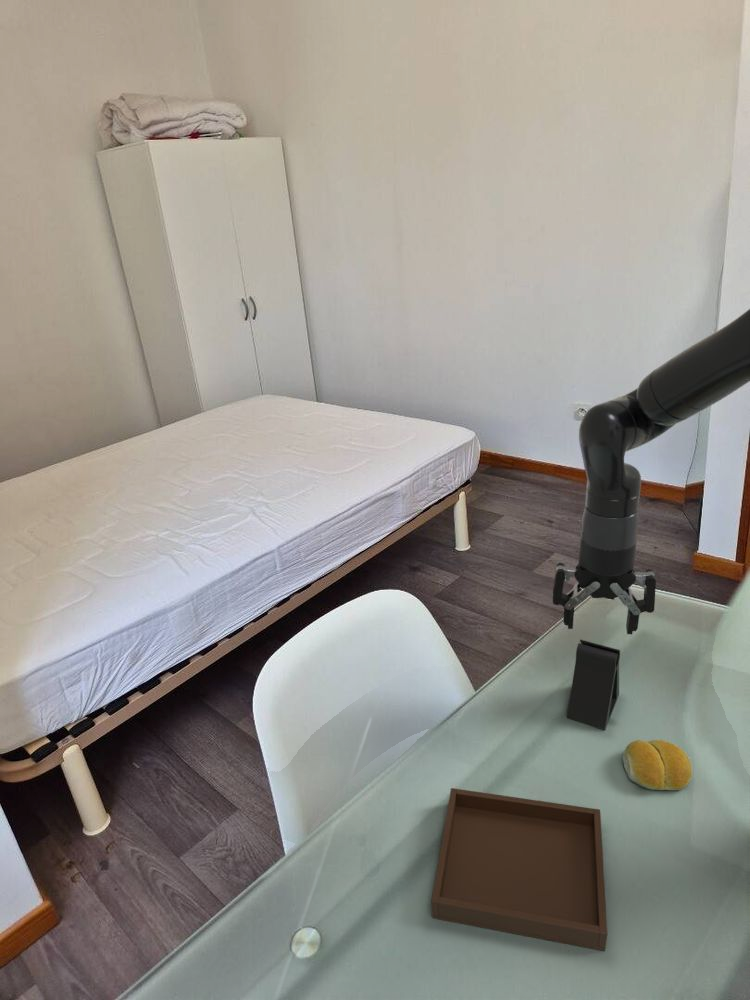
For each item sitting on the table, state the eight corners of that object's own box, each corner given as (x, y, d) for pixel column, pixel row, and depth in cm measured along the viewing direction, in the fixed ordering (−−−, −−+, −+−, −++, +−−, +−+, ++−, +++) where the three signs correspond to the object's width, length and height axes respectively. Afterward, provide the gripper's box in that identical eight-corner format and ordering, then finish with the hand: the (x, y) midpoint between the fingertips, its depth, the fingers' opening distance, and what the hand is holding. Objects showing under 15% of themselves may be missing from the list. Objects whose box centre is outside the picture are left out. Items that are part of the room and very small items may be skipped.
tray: (598, 825, 91) (600, 809, 90) (605, 951, 77) (607, 934, 75) (451, 803, 96) (451, 787, 95) (432, 918, 82) (431, 901, 80)
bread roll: (698, 793, 95) (703, 772, 93) (632, 793, 95) (635, 773, 94) (678, 747, 102) (682, 727, 100) (617, 748, 103) (619, 728, 101)
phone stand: (604, 731, 106) (610, 669, 101) (566, 718, 109) (570, 658, 104) (619, 695, 113) (625, 635, 108) (582, 683, 116) (587, 625, 111)
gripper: (556, 545, 95) (550, 639, 103) (666, 551, 92) (652, 648, 99) (556, 520, 102) (551, 610, 109) (659, 525, 99) (646, 618, 106)
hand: (599, 628), depth 104 cm, fingers open, 8 cm apart
